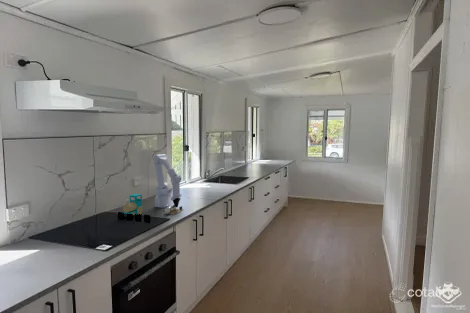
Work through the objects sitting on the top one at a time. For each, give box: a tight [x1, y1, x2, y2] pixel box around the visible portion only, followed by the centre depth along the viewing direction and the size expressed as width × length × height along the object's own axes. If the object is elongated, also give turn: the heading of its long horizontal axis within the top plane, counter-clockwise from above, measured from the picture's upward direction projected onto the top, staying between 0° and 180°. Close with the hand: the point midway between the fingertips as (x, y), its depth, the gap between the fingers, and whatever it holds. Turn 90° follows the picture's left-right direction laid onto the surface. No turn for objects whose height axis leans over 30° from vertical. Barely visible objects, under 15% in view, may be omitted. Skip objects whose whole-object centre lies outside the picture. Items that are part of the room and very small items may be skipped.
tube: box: [162, 204, 177, 215], centre depth 238 cm, size 14×4×4 cm
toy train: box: [122, 193, 144, 216], centre depth 231 cm, size 8×17×15 cm, turn 160°
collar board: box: [167, 205, 184, 215], centre depth 242 cm, size 10×14×4 cm
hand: (176, 207), depth 247 cm, fingers closed
